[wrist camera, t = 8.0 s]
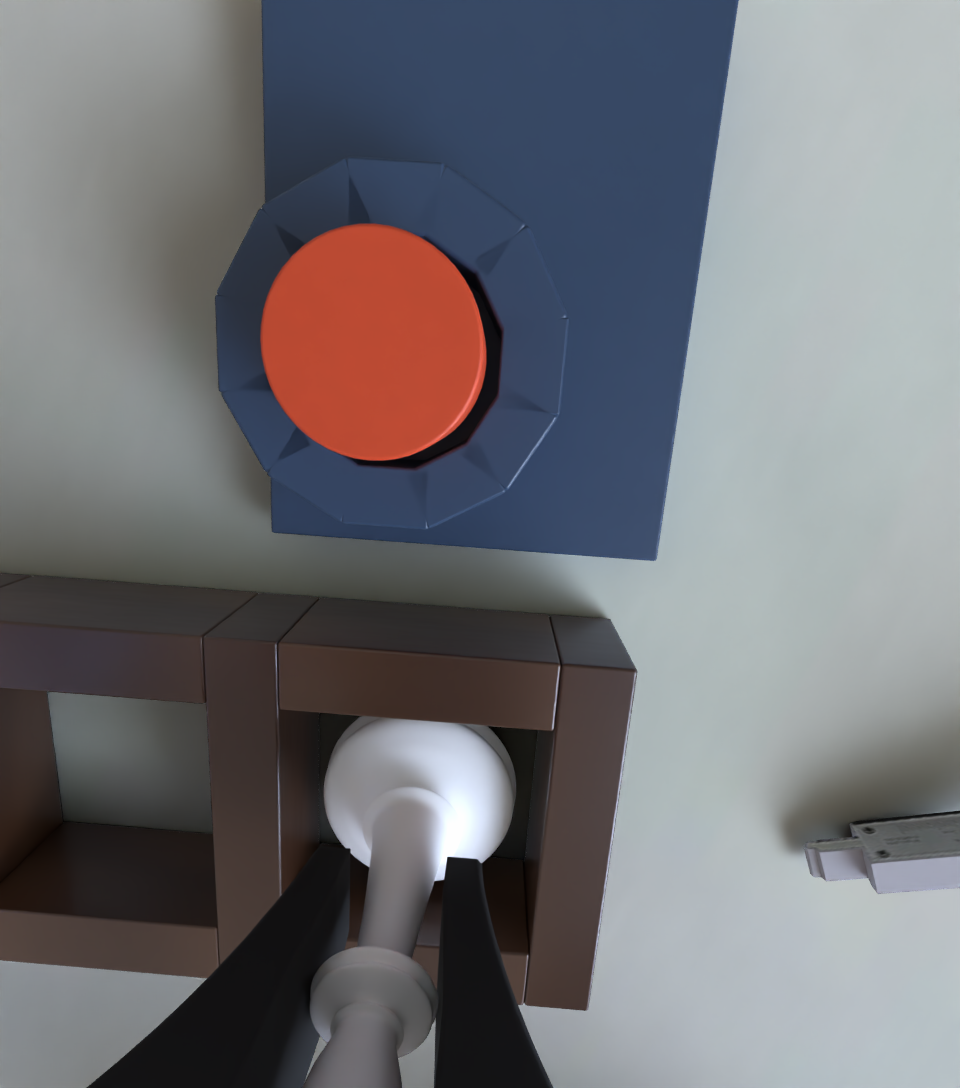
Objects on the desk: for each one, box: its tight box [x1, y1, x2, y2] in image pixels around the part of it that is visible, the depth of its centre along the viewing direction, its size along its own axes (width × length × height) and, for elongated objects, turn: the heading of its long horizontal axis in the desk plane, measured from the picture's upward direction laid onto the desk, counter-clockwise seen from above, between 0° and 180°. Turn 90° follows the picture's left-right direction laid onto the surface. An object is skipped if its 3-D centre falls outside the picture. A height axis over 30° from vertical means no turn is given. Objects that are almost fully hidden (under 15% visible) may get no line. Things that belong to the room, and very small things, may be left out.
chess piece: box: [302, 716, 516, 1088], centre depth 10 cm, size 5×5×10 cm
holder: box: [0, 573, 637, 1011], centre depth 15 cm, size 17×9×3 cm, turn 86°
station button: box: [260, 223, 487, 461], centre depth 10 cm, size 4×4×2 cm
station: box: [215, 0, 739, 561], centre depth 12 cm, size 9×11×3 cm
